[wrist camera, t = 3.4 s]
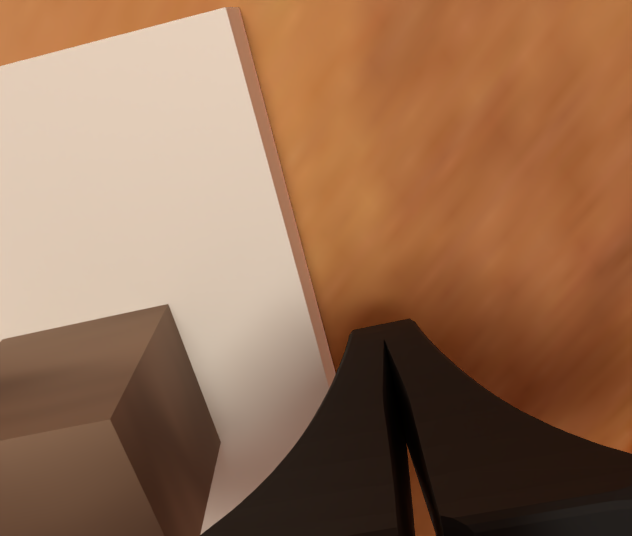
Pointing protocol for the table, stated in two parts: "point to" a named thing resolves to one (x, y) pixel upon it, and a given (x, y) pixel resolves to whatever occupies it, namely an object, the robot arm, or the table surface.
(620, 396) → the table surface
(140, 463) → the walnut block
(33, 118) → the trap deck
